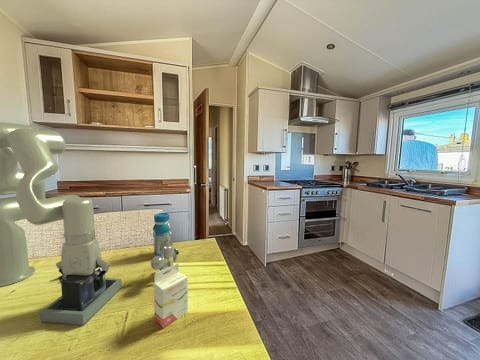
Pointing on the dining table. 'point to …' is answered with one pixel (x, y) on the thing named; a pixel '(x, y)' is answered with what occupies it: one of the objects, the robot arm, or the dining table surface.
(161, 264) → the robot toy
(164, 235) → the beverage bottle
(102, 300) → the tray
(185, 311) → the ink cartridge box
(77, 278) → the small box
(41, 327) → the dining table surface
